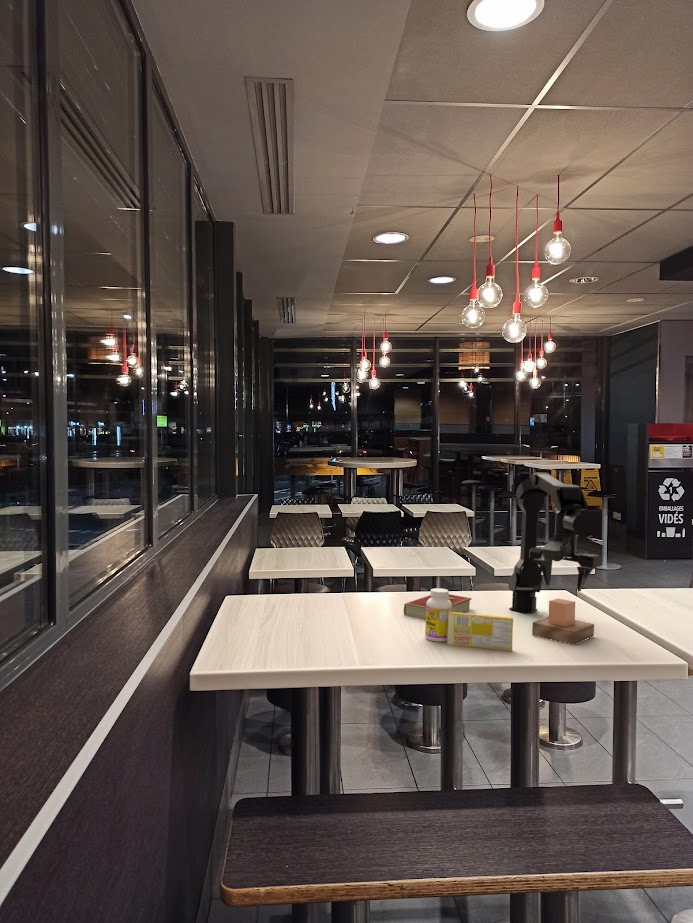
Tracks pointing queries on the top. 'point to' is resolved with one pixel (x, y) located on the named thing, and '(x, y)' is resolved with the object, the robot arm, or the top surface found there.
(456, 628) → the candy box
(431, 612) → the supplement bottle
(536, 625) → the walnut block
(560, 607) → the pink clay cube
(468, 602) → the hardcover book
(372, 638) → the top surface
